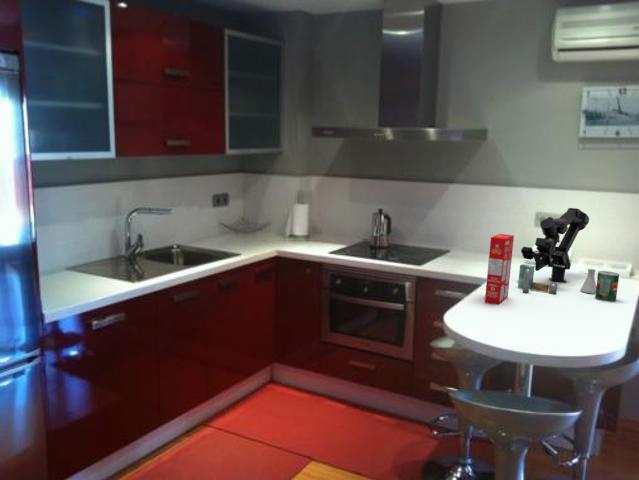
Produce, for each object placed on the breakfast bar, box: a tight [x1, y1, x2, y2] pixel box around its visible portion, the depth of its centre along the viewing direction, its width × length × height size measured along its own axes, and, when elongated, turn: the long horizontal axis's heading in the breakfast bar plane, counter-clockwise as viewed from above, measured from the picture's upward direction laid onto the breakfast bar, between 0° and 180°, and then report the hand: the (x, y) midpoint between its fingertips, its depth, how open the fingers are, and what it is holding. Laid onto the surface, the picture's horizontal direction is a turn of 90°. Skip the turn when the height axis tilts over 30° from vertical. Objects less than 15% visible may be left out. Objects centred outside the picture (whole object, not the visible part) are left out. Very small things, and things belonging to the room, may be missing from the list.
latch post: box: [522, 269, 531, 295], centre depth 247 cm, size 2×2×10 cm
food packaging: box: [484, 233, 515, 305], centre depth 231 cm, size 15×5×25 cm, turn 150°
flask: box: [579, 268, 597, 295], centre depth 255 cm, size 7×7×10 cm
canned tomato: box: [594, 270, 620, 303], centre depth 243 cm, size 8×8×11 cm
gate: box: [517, 263, 550, 293], centre depth 253 cm, size 12×4×10 cm, turn 54°
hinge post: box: [548, 283, 558, 295], centre depth 249 cm, size 3×3×4 cm
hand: (536, 270), depth 259 cm, fingers closed
